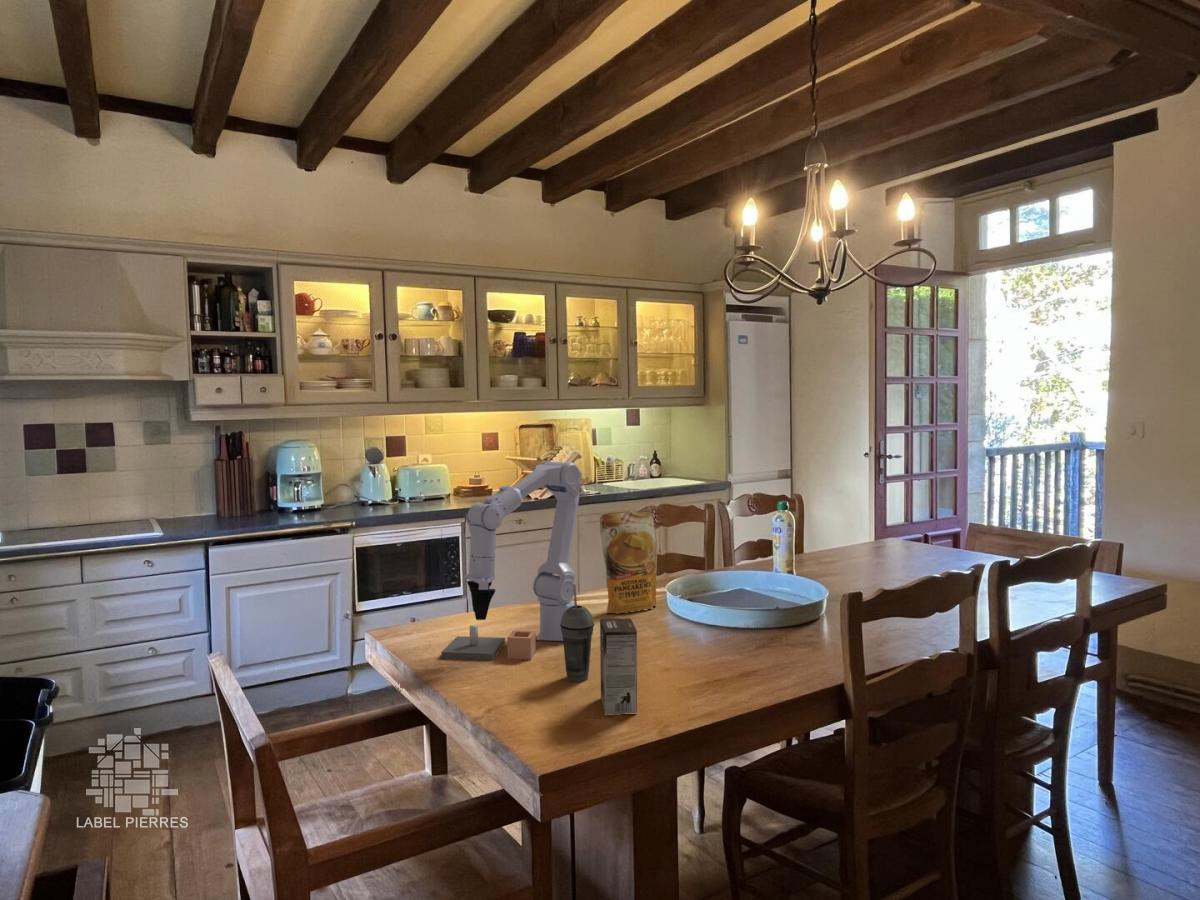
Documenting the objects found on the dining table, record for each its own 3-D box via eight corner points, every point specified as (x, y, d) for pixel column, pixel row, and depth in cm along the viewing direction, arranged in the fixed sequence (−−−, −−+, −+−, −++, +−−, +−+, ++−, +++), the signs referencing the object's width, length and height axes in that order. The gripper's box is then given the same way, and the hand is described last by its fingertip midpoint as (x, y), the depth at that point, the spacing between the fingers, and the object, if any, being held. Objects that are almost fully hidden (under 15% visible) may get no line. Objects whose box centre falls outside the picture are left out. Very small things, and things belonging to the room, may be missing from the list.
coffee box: (599, 697, 151) (599, 617, 150) (631, 696, 151) (631, 616, 150) (603, 716, 142) (603, 631, 141) (637, 715, 142) (637, 630, 141)
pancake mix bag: (594, 611, 214) (594, 512, 212) (652, 602, 222) (652, 508, 221) (605, 617, 208) (605, 515, 206) (664, 608, 216) (664, 511, 215)
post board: (505, 643, 185) (504, 619, 184) (492, 660, 173) (492, 634, 172) (457, 642, 186) (456, 618, 186) (441, 658, 174) (441, 632, 174)
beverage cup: (569, 686, 157) (568, 591, 155) (554, 675, 163) (554, 583, 162) (600, 680, 160) (600, 587, 159) (585, 669, 166) (584, 580, 165)
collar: (535, 652, 178) (535, 631, 178) (530, 659, 173) (530, 638, 173) (513, 651, 179) (513, 630, 179) (507, 658, 174) (507, 637, 173)
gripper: (462, 551, 178) (459, 608, 178) (466, 560, 164) (463, 623, 164) (492, 551, 180) (490, 608, 180) (499, 561, 166) (495, 623, 166)
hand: (479, 615), depth 172 cm, fingers open, 7 cm apart
